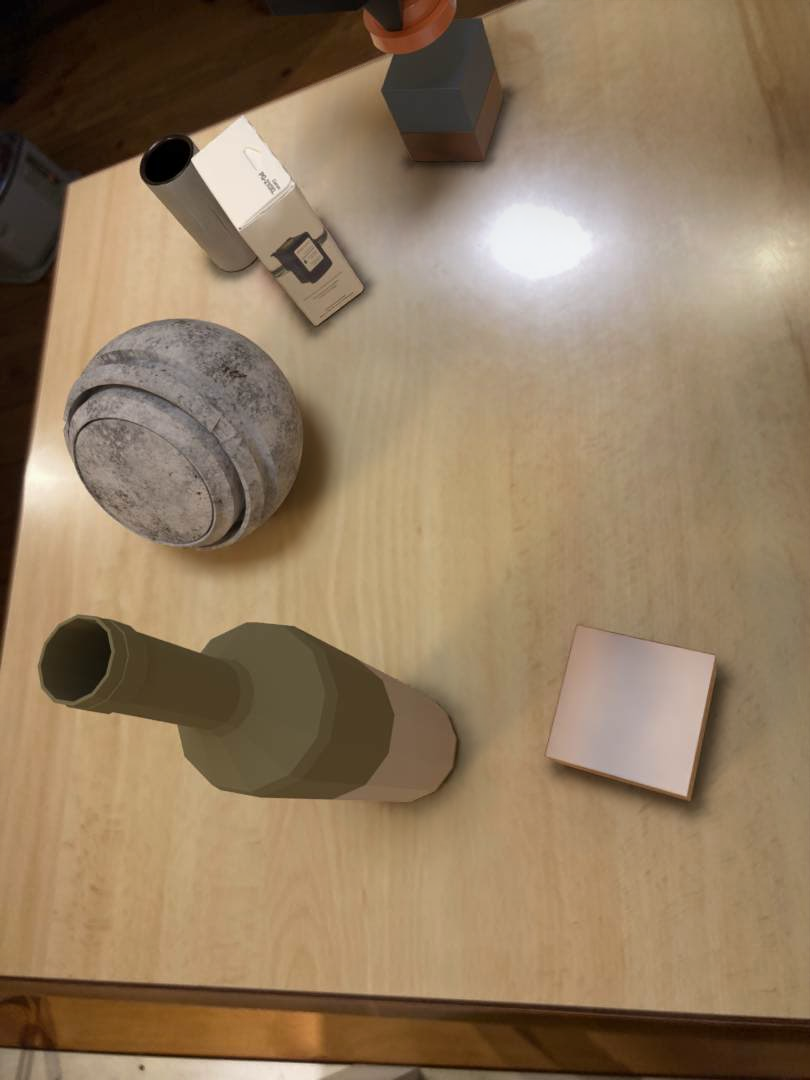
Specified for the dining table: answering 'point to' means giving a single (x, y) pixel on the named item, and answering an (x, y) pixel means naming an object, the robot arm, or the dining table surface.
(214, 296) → the dining table surface
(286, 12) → the robot arm
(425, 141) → the base block
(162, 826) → the dining table surface
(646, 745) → the stand
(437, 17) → the cone
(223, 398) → the decorative orb
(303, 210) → the ink box
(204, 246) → the planter
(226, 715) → the bottle
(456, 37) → the top block
